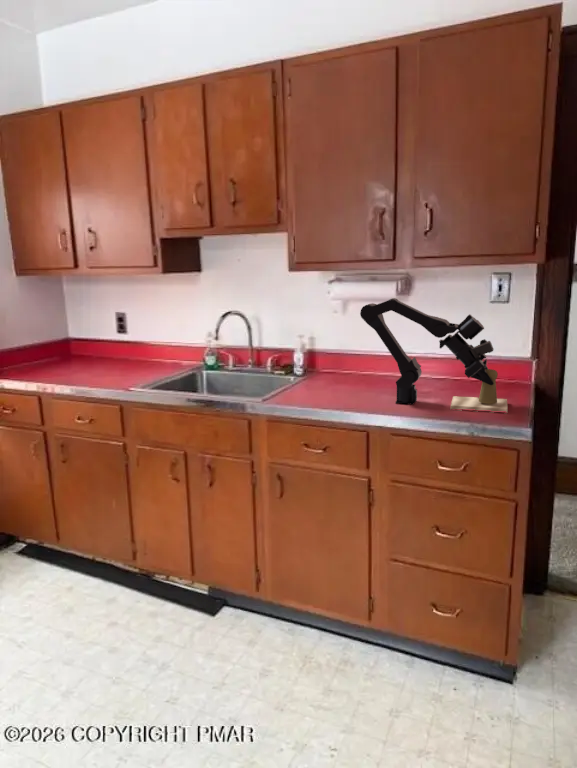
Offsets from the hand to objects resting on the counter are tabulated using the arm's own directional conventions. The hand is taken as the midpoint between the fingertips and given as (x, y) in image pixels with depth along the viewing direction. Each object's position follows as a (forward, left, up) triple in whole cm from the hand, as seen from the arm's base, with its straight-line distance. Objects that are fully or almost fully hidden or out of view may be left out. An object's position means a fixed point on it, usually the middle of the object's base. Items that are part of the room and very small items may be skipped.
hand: (493, 382), depth 191 cm
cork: (-1, 0, -7) cm, 7 cm away
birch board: (-4, +1, -9) cm, 10 cm away
